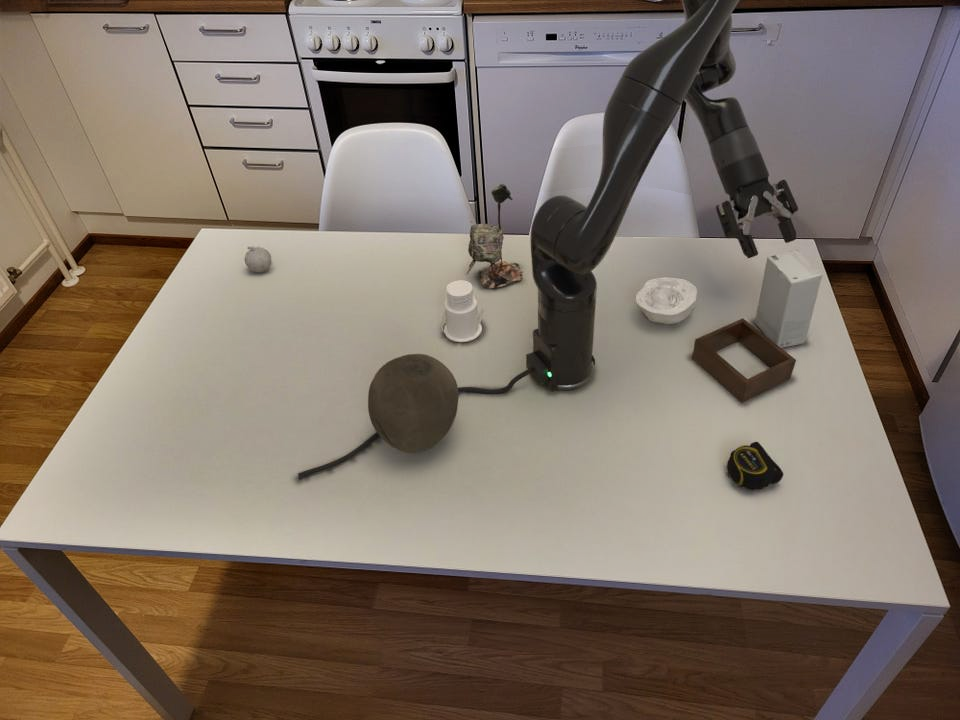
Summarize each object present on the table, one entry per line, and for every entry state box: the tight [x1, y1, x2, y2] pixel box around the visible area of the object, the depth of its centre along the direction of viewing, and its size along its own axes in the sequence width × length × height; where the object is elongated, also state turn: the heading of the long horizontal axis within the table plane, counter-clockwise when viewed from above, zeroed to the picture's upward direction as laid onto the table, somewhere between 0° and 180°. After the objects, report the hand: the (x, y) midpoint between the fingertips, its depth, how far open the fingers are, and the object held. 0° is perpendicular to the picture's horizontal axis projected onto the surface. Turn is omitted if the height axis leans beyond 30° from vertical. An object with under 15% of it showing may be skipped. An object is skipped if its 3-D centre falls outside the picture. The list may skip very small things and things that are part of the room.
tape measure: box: [726, 441, 784, 491], centre depth 114 cm, size 7×7×4 cm
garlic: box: [244, 246, 272, 273], centre depth 159 cm, size 6×5×5 cm
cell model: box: [635, 276, 698, 325], centre depth 141 cm, size 10×12×7 cm
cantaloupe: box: [367, 353, 459, 454], centre depth 120 cm, size 14×14×15 cm
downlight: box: [440, 279, 484, 343], centre depth 140 cm, size 8×7×10 cm
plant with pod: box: [465, 183, 524, 289], centre depth 148 cm, size 8×11×20 cm
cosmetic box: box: [754, 250, 823, 349], centre depth 133 cm, size 8×6×15 cm
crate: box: [691, 317, 797, 404], centre depth 131 cm, size 11×13×4 cm
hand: (772, 248), depth 132 cm, fingers open, 8 cm apart
